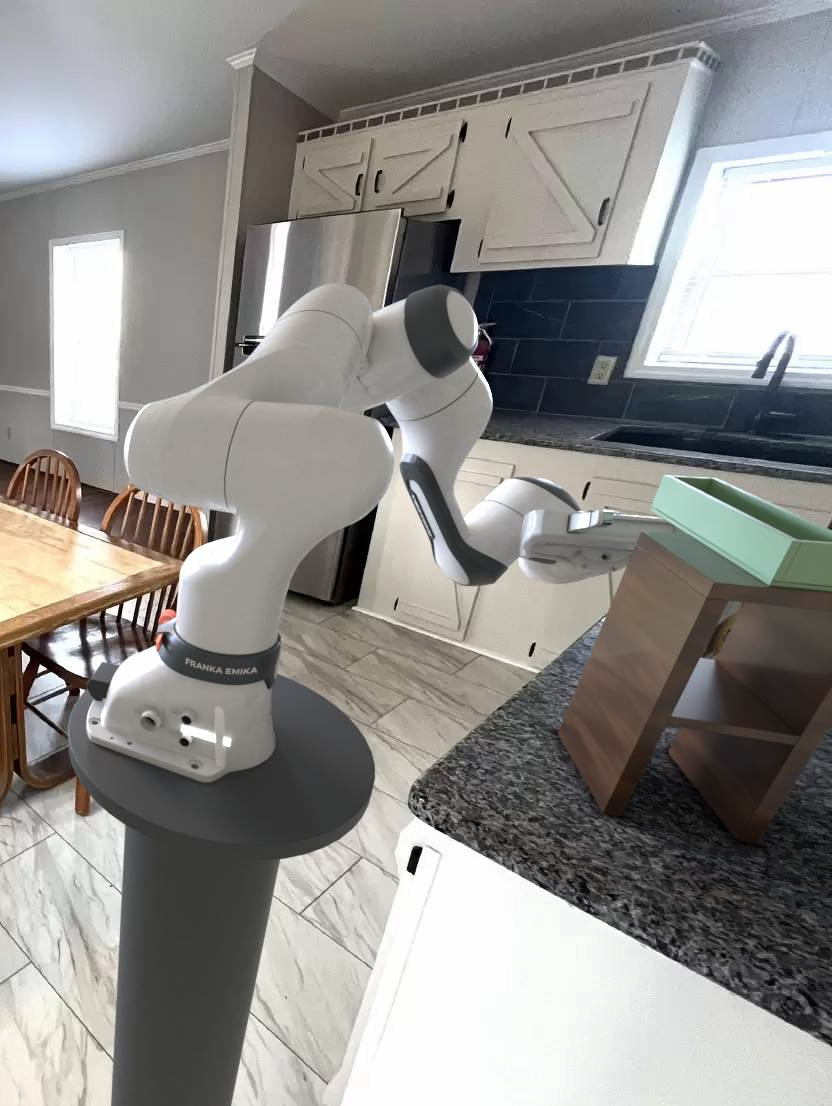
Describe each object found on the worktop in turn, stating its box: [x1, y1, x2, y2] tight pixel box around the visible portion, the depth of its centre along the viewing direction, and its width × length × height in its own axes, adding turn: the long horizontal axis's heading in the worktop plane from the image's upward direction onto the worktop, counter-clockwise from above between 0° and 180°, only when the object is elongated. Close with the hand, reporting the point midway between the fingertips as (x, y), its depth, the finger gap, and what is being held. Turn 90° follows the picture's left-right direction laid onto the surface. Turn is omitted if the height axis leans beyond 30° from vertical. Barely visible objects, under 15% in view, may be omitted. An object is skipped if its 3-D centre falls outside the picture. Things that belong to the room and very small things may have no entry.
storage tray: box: [649, 474, 832, 592], centre depth 60 cm, size 4×22×4 cm, turn 159°
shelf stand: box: [557, 531, 832, 844], centre depth 63 cm, size 12×14×26 cm
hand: (655, 520), depth 74 cm, fingers open, 8 cm apart
